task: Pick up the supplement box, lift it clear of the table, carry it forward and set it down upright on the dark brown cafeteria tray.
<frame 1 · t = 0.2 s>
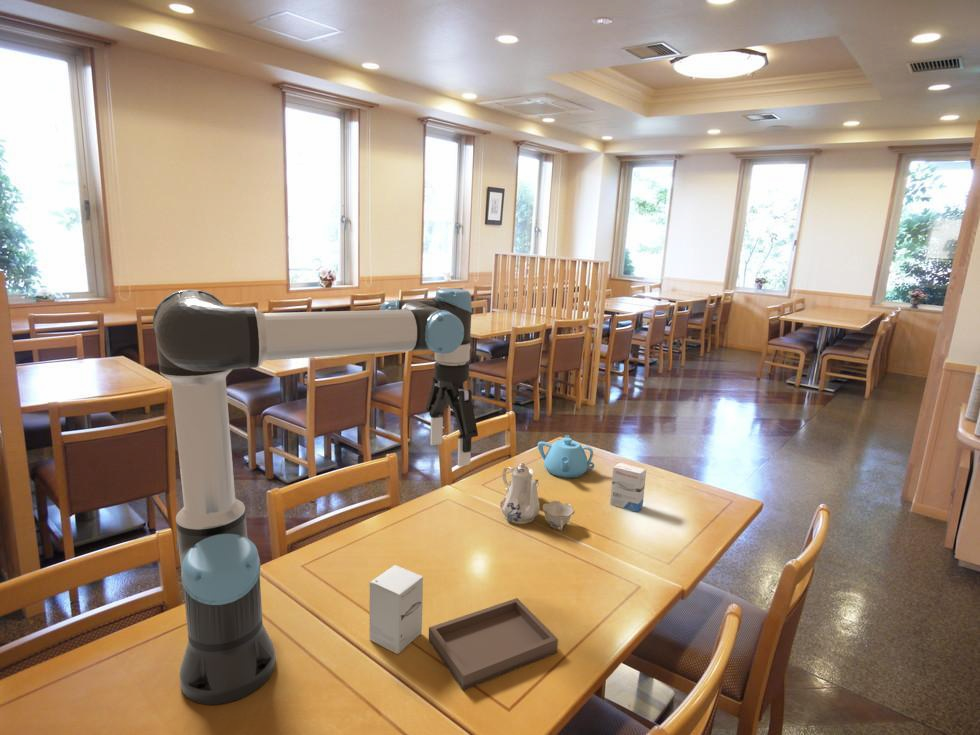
hand: (449, 454, 132), 28 cm above the table, fingers open, 13 cm apart
teapot: (564, 471, 195), on the table
supplement box: (396, 637, 113), on the table
chinaware: (528, 515, 164), on the table
ink box: (626, 506, 172), on the table
tray: (492, 646, 112), on the table
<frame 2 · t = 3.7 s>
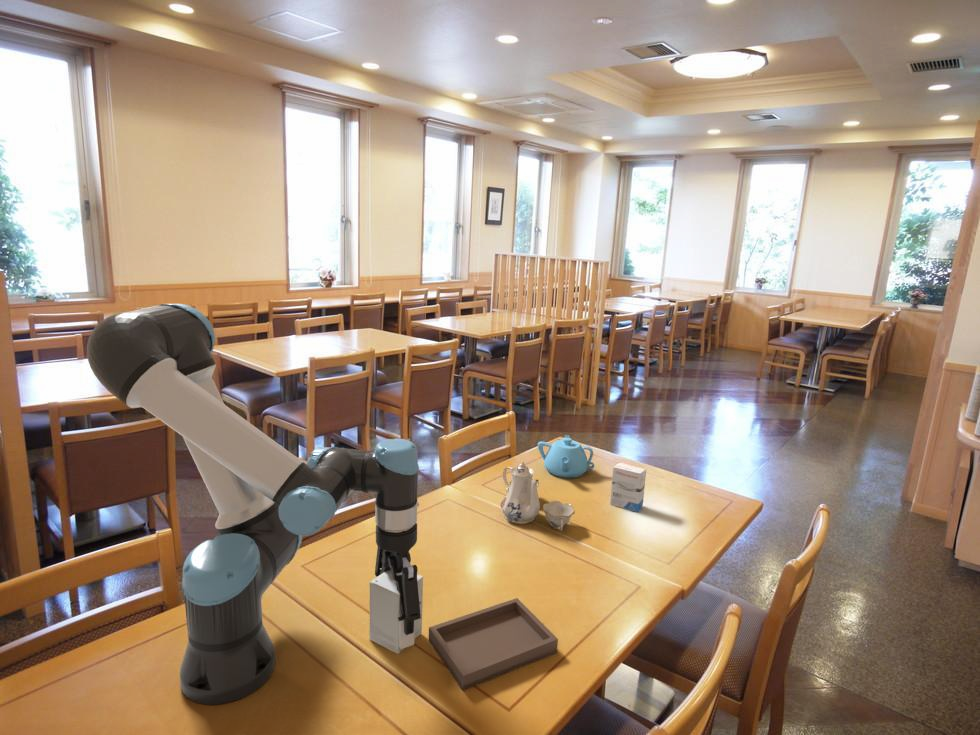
hand: (396, 629, 113), 2 cm above the table, fingers closed on supplement box, 9 cm apart
supplement box: (396, 637, 113), on the table, touching gripper
everything else where it was.
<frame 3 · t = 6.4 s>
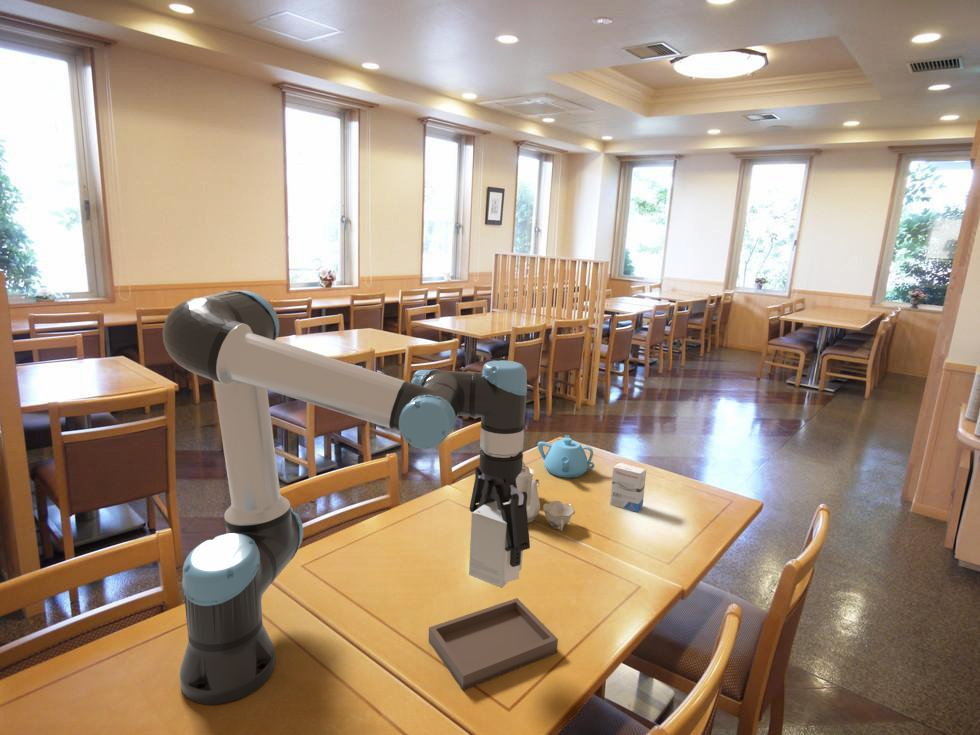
hand: (496, 564, 108), 17 cm above the table, fingers closed on supplement box, 9 cm apart
supplement box: (495, 573, 108), point 16 cm above the table, touching gripper
everything else where it was.
when the fingers open (4 cm above the table, at t = 9.3 s): supplement box drops 1 cm, resting on tray.
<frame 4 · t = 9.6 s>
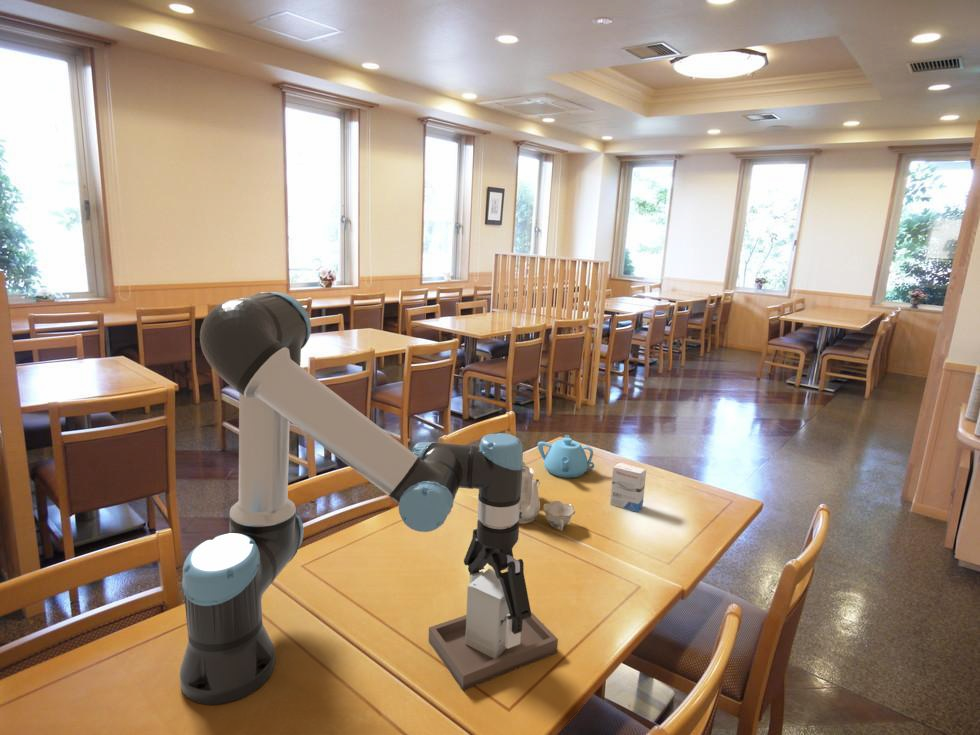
hand: (493, 623, 111), 5 cm above the table, fingers open, 13 cm apart
supplement box: (491, 642, 112), point 1 cm above the table, touching tray
everything else where it was.
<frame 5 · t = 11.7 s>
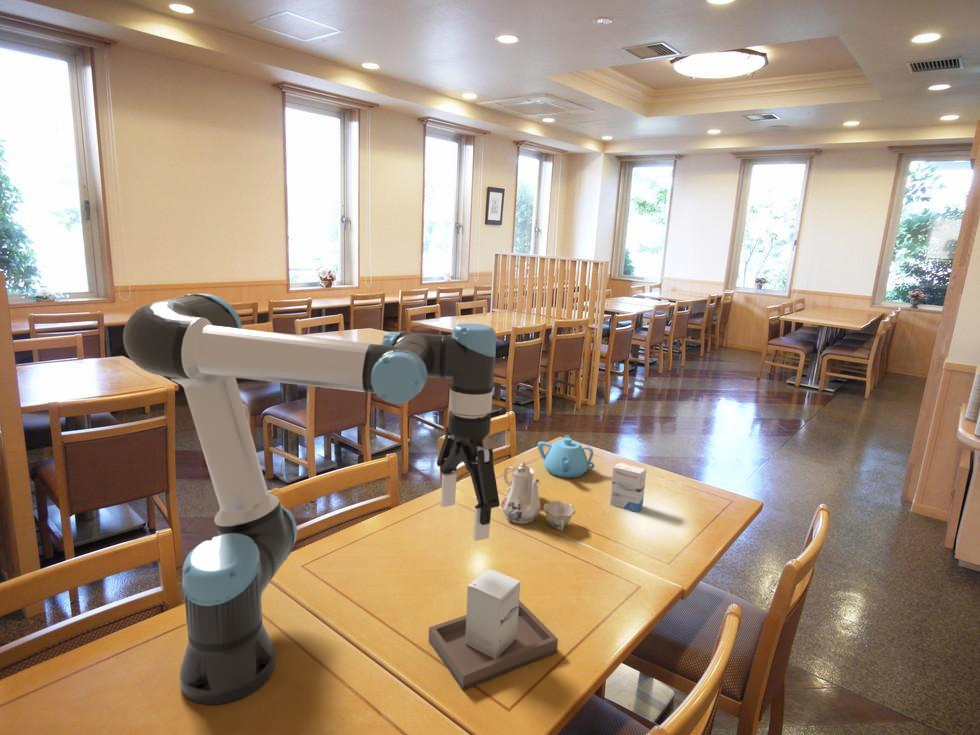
hand: (463, 521, 109), 24 cm above the table, fingers open, 13 cm apart
nothing on the table moved.
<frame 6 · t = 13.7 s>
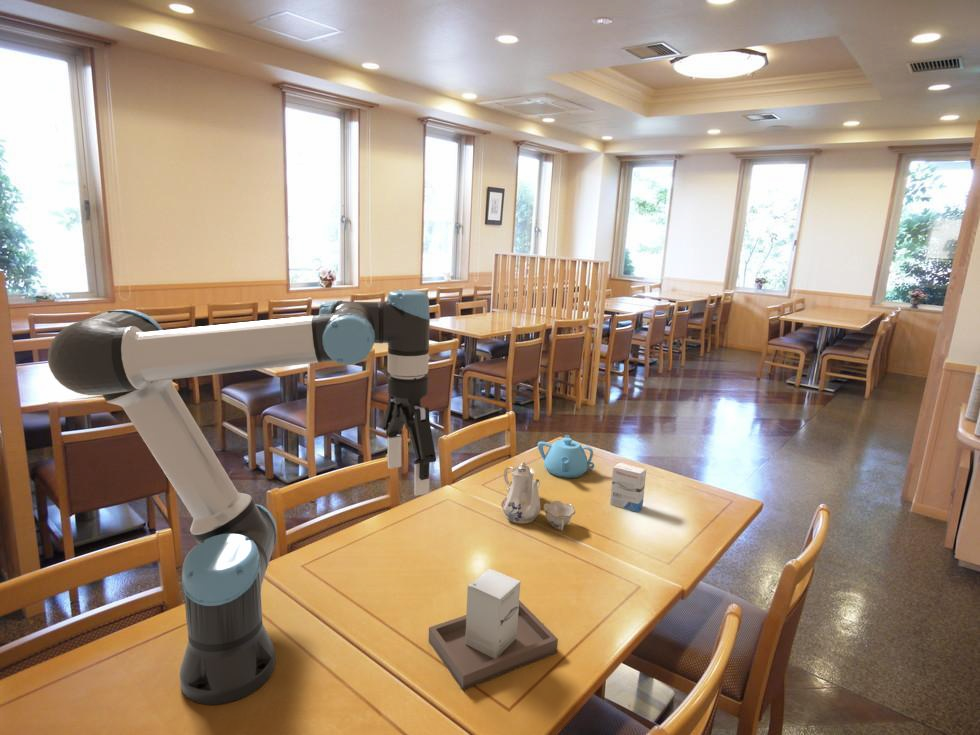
hand: (407, 479, 115), 29 cm above the table, fingers open, 13 cm apart
nothing on the table moved.
at the end: supplement box inside the target area on the tray (0.2 cm from its centre), point 0.8 cm above the tray's base; supplement box tilted 0°; the gripper is holding nothing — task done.
